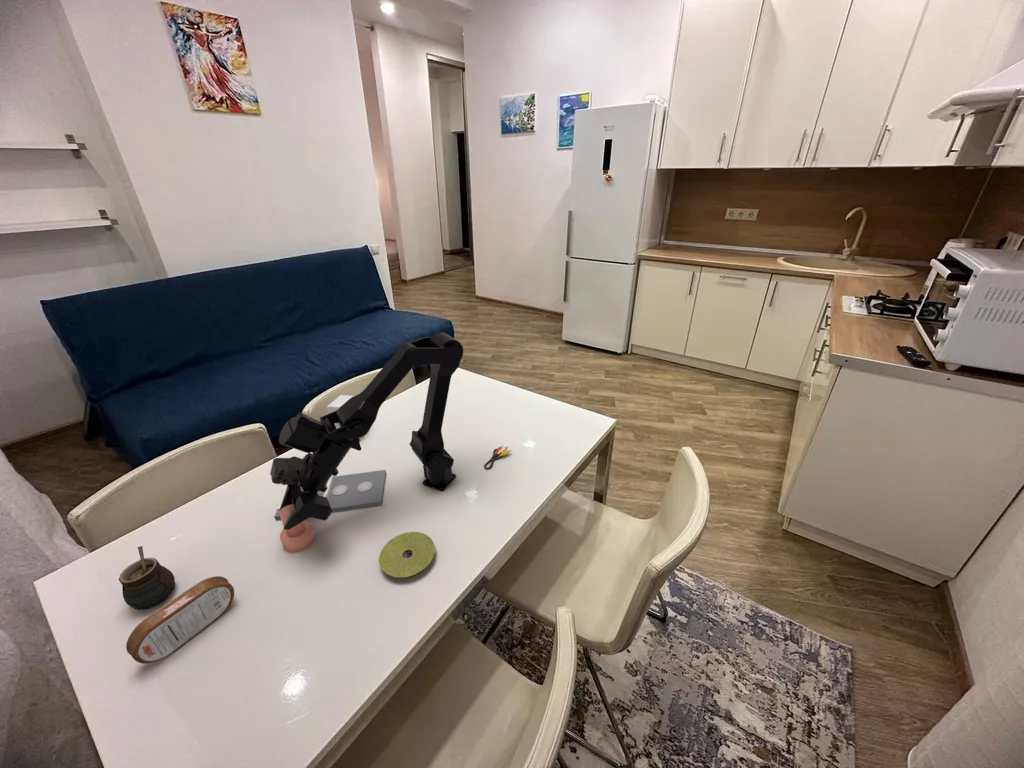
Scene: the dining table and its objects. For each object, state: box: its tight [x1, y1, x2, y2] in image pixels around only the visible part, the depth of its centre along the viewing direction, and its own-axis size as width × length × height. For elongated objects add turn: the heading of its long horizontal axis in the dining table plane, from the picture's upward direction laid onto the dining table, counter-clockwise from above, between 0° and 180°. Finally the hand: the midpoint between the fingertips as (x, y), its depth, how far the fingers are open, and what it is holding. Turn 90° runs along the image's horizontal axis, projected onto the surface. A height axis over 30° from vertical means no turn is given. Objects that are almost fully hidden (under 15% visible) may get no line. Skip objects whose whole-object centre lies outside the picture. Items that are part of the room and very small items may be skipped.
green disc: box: [378, 531, 436, 578], centre depth 84 cm, size 11×11×2 cm
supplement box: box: [326, 394, 364, 441], centre depth 121 cm, size 7×7×13 cm
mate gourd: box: [117, 545, 176, 611], centre depth 75 cm, size 7×8×10 cm
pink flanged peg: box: [279, 504, 317, 554], centre depth 87 cm, size 6×6×9 cm
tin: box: [125, 575, 235, 665], centre depth 70 cm, size 15×3×8 cm, turn 147°
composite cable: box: [483, 444, 512, 471], centre depth 113 cm, size 10×5×2 cm, turn 139°
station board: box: [273, 469, 387, 521], centre depth 101 cm, size 24×12×3 cm, turn 101°
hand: (283, 520), depth 85 cm, fingers open, 6 cm apart
